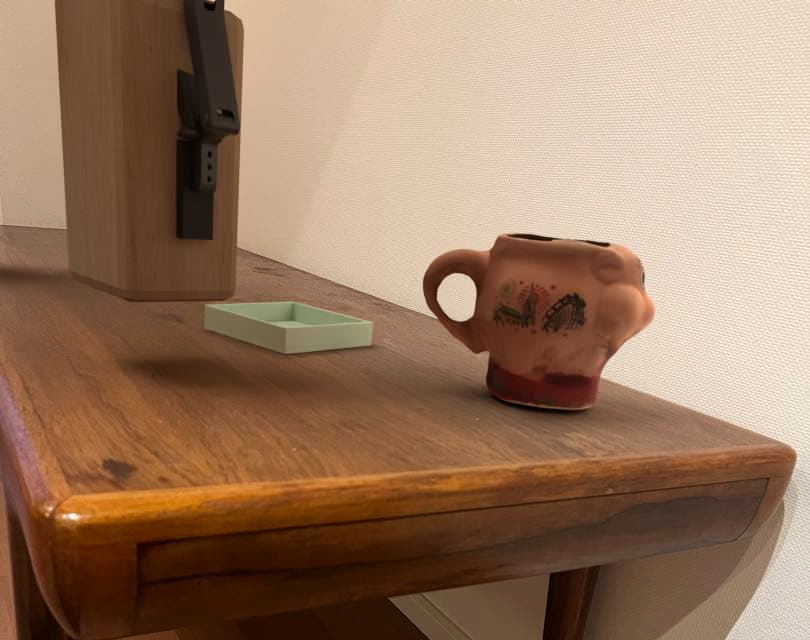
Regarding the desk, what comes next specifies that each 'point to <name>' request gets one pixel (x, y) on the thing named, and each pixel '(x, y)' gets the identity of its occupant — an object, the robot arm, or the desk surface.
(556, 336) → the terracotta mug
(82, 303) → the desk surface
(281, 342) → the shallow tray
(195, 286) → the block
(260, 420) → the desk surface
